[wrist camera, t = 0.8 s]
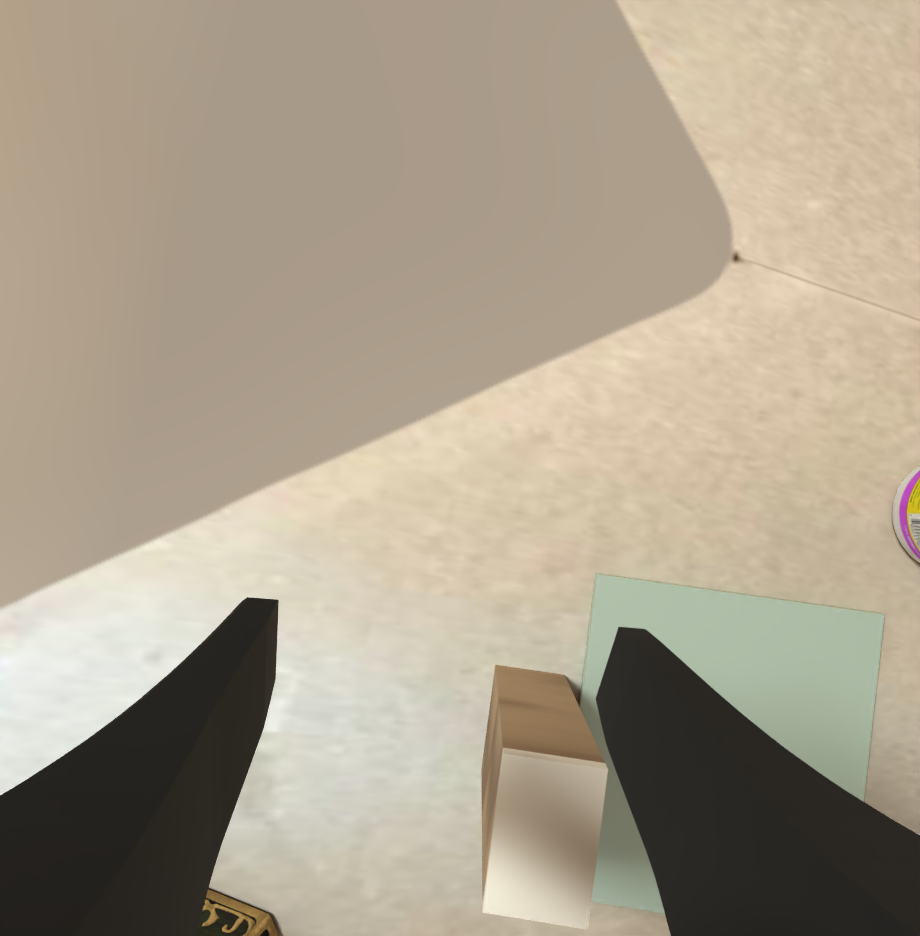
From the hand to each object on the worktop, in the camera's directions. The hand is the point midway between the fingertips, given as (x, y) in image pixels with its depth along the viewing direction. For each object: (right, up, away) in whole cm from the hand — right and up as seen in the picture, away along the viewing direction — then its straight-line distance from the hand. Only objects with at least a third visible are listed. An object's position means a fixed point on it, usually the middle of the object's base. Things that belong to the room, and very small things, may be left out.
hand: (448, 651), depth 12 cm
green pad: (+15, -12, +20) cm, 28 cm away
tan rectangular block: (+4, -11, +21) cm, 24 cm away
